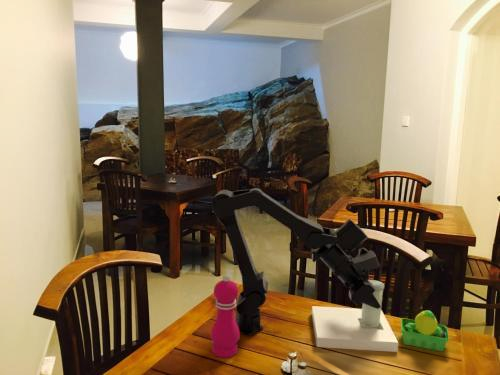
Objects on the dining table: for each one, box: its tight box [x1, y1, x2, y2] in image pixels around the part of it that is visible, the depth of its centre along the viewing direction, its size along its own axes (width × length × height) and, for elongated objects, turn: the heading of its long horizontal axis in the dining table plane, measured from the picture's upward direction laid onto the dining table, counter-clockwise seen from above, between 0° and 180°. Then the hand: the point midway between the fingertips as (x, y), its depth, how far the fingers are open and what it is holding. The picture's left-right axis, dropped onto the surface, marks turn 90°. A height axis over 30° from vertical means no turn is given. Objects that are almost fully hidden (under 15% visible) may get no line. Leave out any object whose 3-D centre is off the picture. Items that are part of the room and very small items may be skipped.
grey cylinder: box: [361, 279, 385, 327], centre depth 115 cm, size 5×5×11 cm
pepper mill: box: [210, 274, 241, 359], centre depth 106 cm, size 7×7×20 cm
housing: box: [311, 305, 399, 353], centre depth 117 cm, size 20×18×4 cm
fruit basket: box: [400, 309, 450, 352], centre depth 111 cm, size 11×9×11 cm
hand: (377, 303), depth 115 cm, fingers closed on grey cylinder, 5 cm apart
